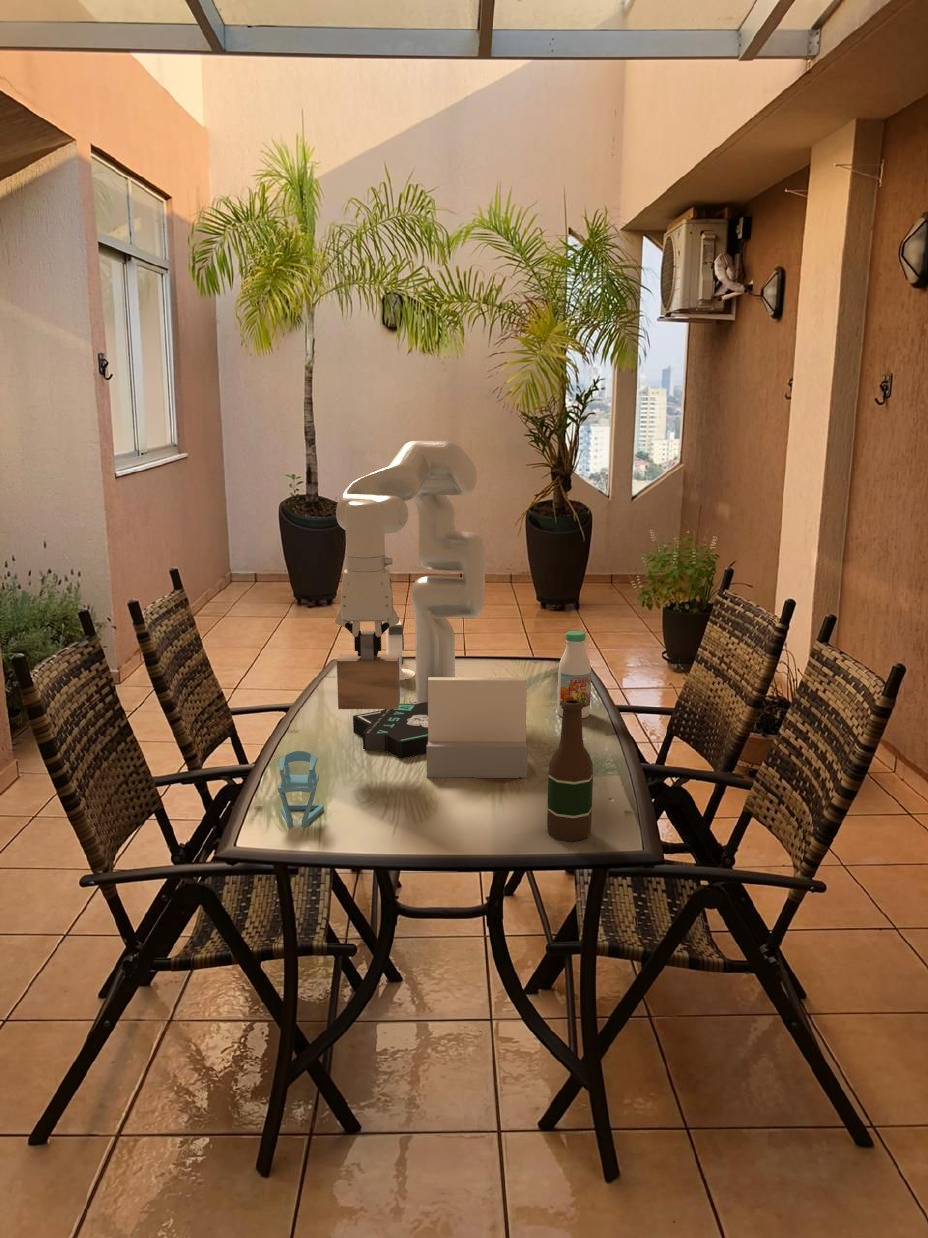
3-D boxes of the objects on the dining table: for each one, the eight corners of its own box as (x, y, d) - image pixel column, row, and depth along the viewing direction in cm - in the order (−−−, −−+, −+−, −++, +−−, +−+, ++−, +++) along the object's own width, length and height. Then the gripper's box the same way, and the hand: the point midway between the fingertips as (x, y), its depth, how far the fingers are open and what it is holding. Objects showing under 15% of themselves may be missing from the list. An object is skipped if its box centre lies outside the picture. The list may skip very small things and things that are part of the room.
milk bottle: (550, 714, 252) (552, 632, 248) (572, 707, 257) (574, 627, 253) (574, 722, 247) (576, 638, 242) (596, 715, 252) (599, 633, 247)
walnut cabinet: (341, 701, 217) (339, 630, 214) (399, 701, 217) (398, 630, 214) (338, 709, 213) (335, 636, 209) (398, 709, 212) (396, 636, 209)
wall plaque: (332, 755, 225) (471, 765, 219) (331, 737, 224) (471, 747, 218) (372, 713, 254) (496, 721, 248) (372, 697, 253) (496, 704, 247)
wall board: (428, 760, 221) (428, 677, 217) (525, 761, 221) (526, 677, 217) (426, 777, 212) (426, 690, 208) (527, 778, 211) (528, 691, 208)
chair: (274, 828, 188) (272, 763, 185) (281, 809, 196) (279, 747, 193) (318, 827, 188) (316, 763, 185) (323, 808, 196) (322, 747, 193)
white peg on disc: (417, 680, 280) (417, 625, 277) (374, 682, 279) (373, 626, 276) (413, 668, 292) (412, 615, 289) (371, 670, 290) (370, 616, 287)
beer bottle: (543, 825, 189) (546, 695, 184) (587, 823, 190) (590, 694, 184) (550, 843, 181) (553, 708, 176) (595, 842, 182) (599, 707, 177)
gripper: (408, 560, 212) (409, 649, 216) (327, 560, 212) (330, 649, 216) (405, 567, 204) (407, 659, 209) (322, 567, 204) (325, 659, 209)
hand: (368, 653), depth 212 cm, fingers closed on walnut cabinet, 2 cm apart
